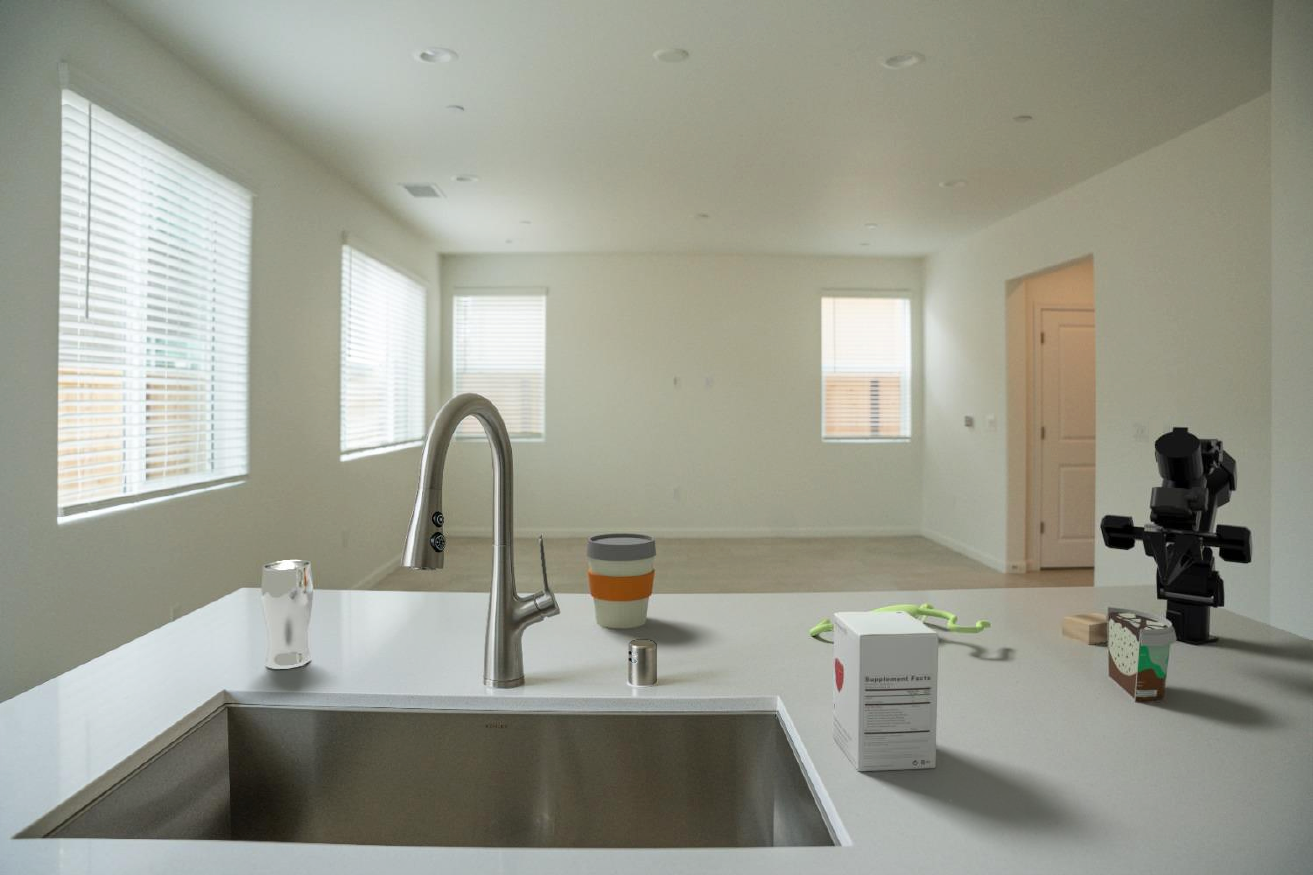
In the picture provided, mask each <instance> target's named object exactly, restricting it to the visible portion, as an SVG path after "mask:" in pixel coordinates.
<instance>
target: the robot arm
mask: <svg viewBox="0 0 1313 875" xmlns="http://www.w3.org/2000/svg"><path fill="white" fill-rule="evenodd" d="M1154 456H1155V462H1156V463H1157V469H1158V473H1159V477H1160V478H1161V479H1162V481H1161V482H1162V483H1161V486H1154V487H1152V488H1151V493H1150V494H1151V496H1150V501H1149V509H1150V514H1149V520H1150V523H1144V526H1135V525H1134V524H1135V523H1134V518H1133V516H1130V515H1128V516H1127V515H1118V514H1116V515H1115V514H1106V515H1104V516H1103V517H1101V521H1100V525H1099V527H1100V531H1101V534H1102V538H1103V542H1104V545H1105V547H1107V548H1108V549H1113V550H1124V551H1129V550H1131V549H1133V548H1135V545H1136V542H1137V541H1140V542H1141V541H1142V545H1143V549H1144V555H1146V556H1147V557H1151V558H1153V559H1154V562H1155V564H1156V566H1157V567H1156V572H1155V573H1156V576H1155V579H1156V582H1155V583H1156V599H1157V600H1160V601H1161V600H1164V601H1166V610H1165V619H1167V620H1169V621H1170V622H1171V623H1172V626H1173V628H1174V630H1175V634H1176V639H1177V640H1178V641H1182V642H1185V643H1188V644H1193V645H1198V644H1203V643H1204V644H1205V643H1209V642H1215V641H1220V637H1219V636H1216V635H1212V634H1210V628H1211V627H1210V626H1211V625H1210V623H1211V607H1212V608H1214V609H1218V608H1222V607H1225V598H1226V597H1225V595H1226V594H1225V581H1224V579H1222V577H1221V575H1220V571H1219V570H1216V558H1215V556H1214V553H1213V549H1212V548H1219V551H1218V557H1219V558H1220V559H1221V560H1222V561H1224V562H1226V563H1227V562H1228V563H1236V564H1237V563H1238V564H1244V565H1245V564H1246V565H1247V564H1249V563H1252V558H1253V536H1252V530H1251V529H1250V528H1249V527H1248V526H1246V525H1245V526H1243V525H1230V524H1219V523H1217V524H1216V526H1215V523H1216V518H1217V512H1218V509H1219V508H1221V507H1222V506H1224V505H1226V504H1228V503H1230V501H1231V499H1232V494H1233V492H1236V491H1237V488H1238V487H1237V486H1238V470H1237V469H1238V468H1237V460H1236V459H1235V458H1234V457H1232V456H1231V455H1230V454H1229V453H1228V452H1227V451H1226V450H1225V449H1224V444H1223V440H1219V439H1218V438H1198V436H1197V435H1195V434H1193V433H1190V432H1189V427H1188V426H1187V427H1186V426H1173V427H1172V431H1170V432H1167V433H1164V434H1162V435H1160V436H1159V437H1158V438H1157V439H1156V440H1155V441H1154ZM1214 527H1215V532H1214Z"/></svg>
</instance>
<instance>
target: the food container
mask: <svg viewBox="0 0 1313 875" xmlns="http://www.w3.org/2000/svg"><path fill="white" fill-rule="evenodd" d="M1105 614H1106V621H1108V642H1107V678H1108V677H1109V678H1108V679H1109V680H1110V681H1111V682H1113V683H1114V682H1115V683H1114V685H1116V686H1117V687H1118V688H1119V689H1120V690H1121V689H1122V690H1121V691H1122V692H1124V693H1125V694H1126V695H1127V696H1128V697H1129V698H1130V699H1131V700H1133V702H1134V703H1155V702H1158V701H1162V699H1164V697H1165V691H1166V684H1167V674H1168V667H1169V658H1170V651H1171V645H1173V644H1175V643H1176V642H1177V640H1178V639H1176V634H1175V630H1174V628H1173V626H1172V623H1171V622H1170V621H1169V620H1167V619H1166V617H1163V616H1160V615H1157V614H1154V613H1150V612H1145V611H1142V610H1141V611H1140V610H1136V609H1129V608H1122V607H1111V606H1110V607H1109V606H1107V610H1106V613H1105Z"/></svg>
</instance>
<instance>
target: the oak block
mask: <svg viewBox="0 0 1313 875" xmlns="http://www.w3.org/2000/svg"><path fill="white" fill-rule="evenodd" d="M1061 619H1062V620H1061V622H1062V623H1061V625H1062V628H1061V629H1062V630H1061V636H1062V635H1063V636H1066V637H1068V638H1067V639H1069V638H1071V639H1070V640H1072V639H1076V640H1079V641H1081V642H1080V643H1082V642H1084V643H1083V644H1085V643H1086V644H1085V645H1089V644H1090V645H1095V643H1096V644H1101V643H1100V642H1102V643H1108V642H1107V641H1108V621H1106V615H1105V614H1101V613H1098V612H1091V613H1085V614H1075V615H1069V616H1063V617H1061ZM1063 636H1062V637H1063ZM1066 637H1065V638H1066ZM1079 641H1078V642H1079Z"/></svg>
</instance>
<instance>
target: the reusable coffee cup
mask: <svg viewBox="0 0 1313 875" xmlns="http://www.w3.org/2000/svg"><path fill="white" fill-rule="evenodd" d="M655 541H656V539H655V537H653V536H652V535H648V534H641V533H629V532H628V533H626V532H624V533H623V532H619V533H617V532H616V533H604V534H598V535H597V534H596V535H592V536H589V537H588V538H587V544H586V545H587V546H586V557H588V563H589V568H588V570H587V575H588V576H587V577H588V583H589V591H590V596H591V597H592V598H593V604H594V614H595V621H596V624H597V625H599V626H600V627H604V628H609V629H631V628H632V629H633V628H638V627H641V626H643V625H645V624H646V623H647V616H648V608H649V602H650V601H649V600H650V599H649V598H650V597H651V596H652V594H653V585H654V579H655V572H656V570H655V568H654V561H655V556H656V555H657V551H656V548H657V547H656V542H655Z"/></svg>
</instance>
